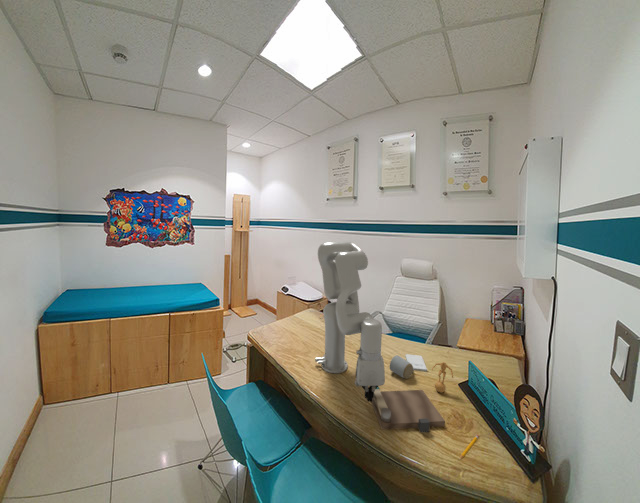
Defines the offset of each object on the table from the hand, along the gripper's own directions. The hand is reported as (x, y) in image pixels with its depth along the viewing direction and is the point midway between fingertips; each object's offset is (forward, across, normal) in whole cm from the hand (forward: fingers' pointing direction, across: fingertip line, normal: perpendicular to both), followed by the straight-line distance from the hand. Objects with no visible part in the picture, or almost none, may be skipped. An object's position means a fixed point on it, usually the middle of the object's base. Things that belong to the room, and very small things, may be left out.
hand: (368, 399), depth 94 cm
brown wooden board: (+3, +12, -3) cm, 13 cm away
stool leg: (+1, +4, -3) cm, 4 cm away
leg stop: (+3, +16, -12) cm, 20 cm away
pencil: (+3, +27, -19) cm, 33 cm away
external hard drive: (+4, +31, +28) cm, 42 cm away
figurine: (+3, +32, +8) cm, 33 cm away
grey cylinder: (+3, +21, +20) cm, 29 cm away
